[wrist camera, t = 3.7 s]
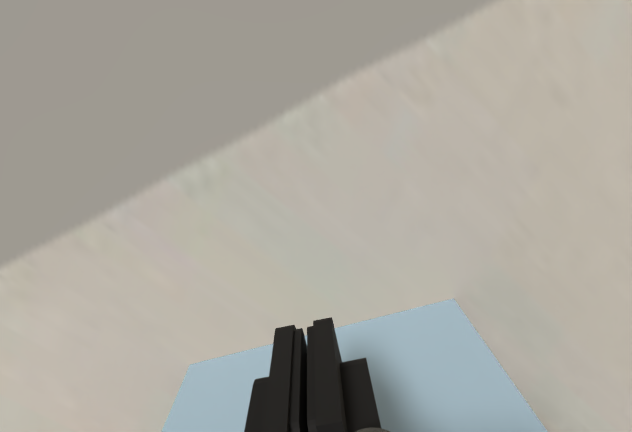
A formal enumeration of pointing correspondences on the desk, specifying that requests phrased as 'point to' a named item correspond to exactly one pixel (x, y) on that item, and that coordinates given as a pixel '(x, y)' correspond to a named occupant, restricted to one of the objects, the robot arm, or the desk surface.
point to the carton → (379, 378)
